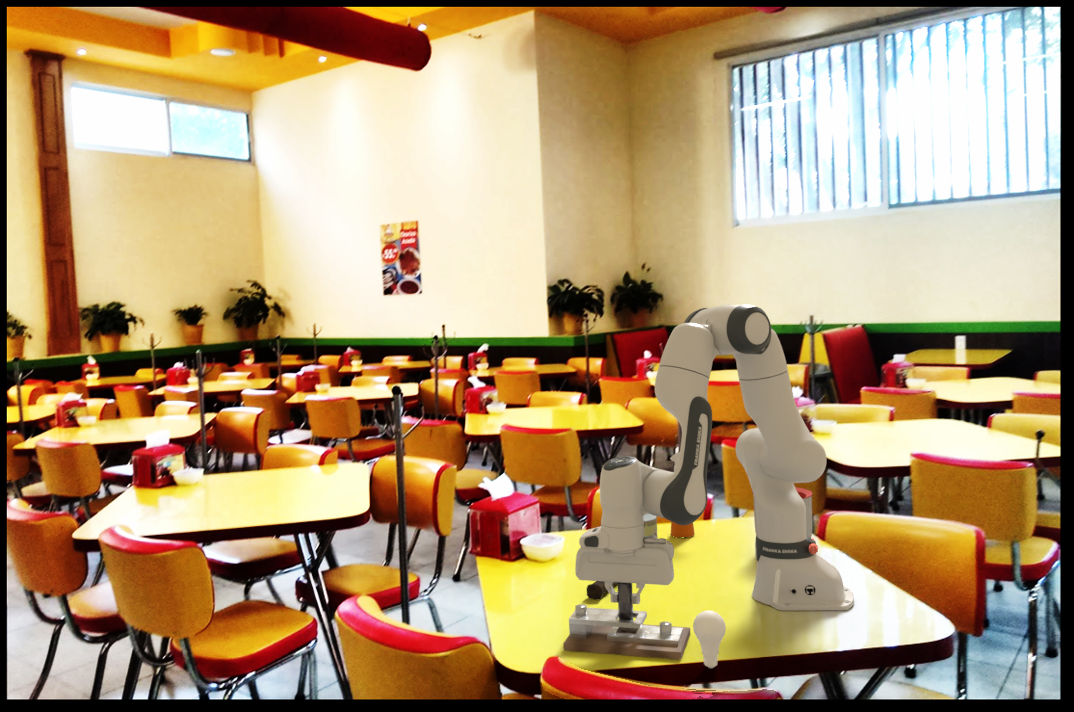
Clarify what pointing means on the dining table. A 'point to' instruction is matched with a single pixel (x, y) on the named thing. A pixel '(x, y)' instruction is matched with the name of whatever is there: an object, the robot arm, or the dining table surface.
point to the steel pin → (625, 601)
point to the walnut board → (625, 645)
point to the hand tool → (597, 590)
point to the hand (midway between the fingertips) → (625, 602)
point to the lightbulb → (709, 635)
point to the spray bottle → (675, 528)
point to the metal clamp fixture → (622, 626)
